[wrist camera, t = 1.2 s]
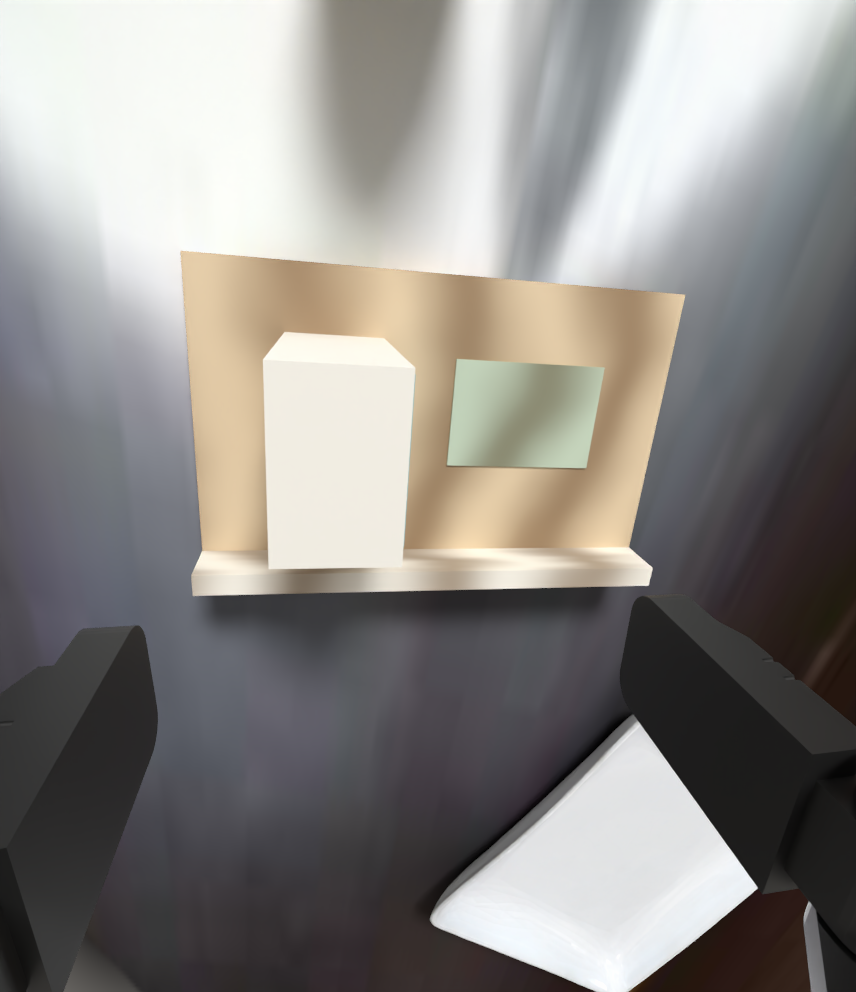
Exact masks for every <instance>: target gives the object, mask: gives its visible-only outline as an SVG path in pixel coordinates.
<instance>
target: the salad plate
mask: <svg viewBox="0 0 856 992" xmlns="http://www.w3.org/2000/svg"><path fill="white" fill-rule="evenodd" d="M756 889H758V887H757V886H756V885H755V883H754V882H753V880H752V879H751V878H750V876H749V875H748V873H747V872H746V871H745V869H744V868H743V866H742V865H741V864H740V862H739V861H738V859H737V858H736V857H735V855H734V854H733V852H732V851H731V850H730V848H729V847H728V846H727V844H726V843H725V841H724V840H723V839H722V837H721V836H720V834H719V833H718V832H717V830H716V829H715V827H714V826H713V825H712V823H711V822H710V820H709V819H708V818H707V816H706V815H705V814H704V812H703V811H702V809H701V808H700V807H699V805H698V804H697V802H696V801H695V800H694V798H693V797H692V795H691V794H690V793H689V791H688V790H687V788H686V787H685V786H684V784H683V783H682V782H681V780H680V779H679V777H678V776H677V775H676V773H675V772H674V770H673V769H672V768H671V766H670V765H669V763H668V762H667V761H666V759H665V758H664V756H663V755H662V754H661V752H660V751H659V749H658V748H657V747H656V745H655V744H654V743H653V741H652V740H651V738H650V737H649V736H648V734H647V733H646V731H645V730H644V729H643V727H642V726H641V724H640V723H639V722H638V720H637V719H636V717H635V716H634V715H633V714H632V715H631V716H630V717H628V718H627V719H626V720H625V721H624V722H623V723H622V724H621V725H620V726H619V727H617V728H616V729H615V730H614V731H613V732H612V733H611V734H610V735H609V737H608V738H607V739H606V740H605V741H604V742H603V743H602V744H601V745H600V746H599V747H598V748H597V749H596V750H595V751H594V752H593V753H592V754H590V755H589V756H588V757H587V758H586V759H585V760H584V761H583V762H582V763H581V764H580V765H579V766H578V767H577V768H576V769H575V770H574V771H573V772H572V773H571V774H569V775H568V776H567V777H566V778H565V779H564V780H563V781H562V782H561V783H560V784H559V785H558V786H557V787H556V788H555V789H554V790H553V791H552V792H550V793H549V794H548V795H547V796H546V797H545V798H544V799H543V800H542V801H541V802H540V803H539V804H538V805H537V806H535V807H534V808H533V809H532V810H531V811H530V812H529V813H528V814H527V815H526V816H525V817H524V818H522V819H521V820H520V821H519V822H518V823H517V824H516V825H515V826H514V827H513V828H511V829H510V830H509V831H508V832H507V833H506V834H505V835H504V836H503V837H501V838H500V839H499V840H498V841H497V842H496V843H495V844H494V845H493V846H491V847H490V848H489V849H488V850H487V851H486V852H484V853H483V854H482V855H481V856H480V857H479V858H477V859H476V860H475V861H474V862H473V863H472V864H470V865H469V866H468V867H467V868H466V869H465V870H464V871H463V872H462V873H461V874H460V875H459V876H458V877H457V878H456V879H455V880H454V881H453V882H452V883H451V884H450V885H449V886H448V888H447V889H446V890H445V891H444V893H443V894H442V896H441V897H440V898H439V900H438V902H437V903H436V905H435V907H434V909H433V911H432V913H431V917H430V921H431V923H432V924H433V925H434V926H435V927H437V928H439V929H442V930H444V931H447V932H450V933H452V934H455V935H457V936H459V937H461V938H464V939H467V940H469V941H472V942H475V943H477V944H480V945H482V946H485V947H487V948H490V949H493V950H495V951H497V952H500V953H502V954H505V955H508V956H510V957H513V958H515V959H518V960H520V961H523V962H525V963H528V964H531V965H534V966H536V967H539V968H541V969H544V970H546V971H548V972H551V973H553V974H556V975H558V976H561V977H563V978H566V979H568V980H570V981H573V982H575V983H577V984H579V985H582V986H584V987H586V988H589V989H591V990H594V991H596V992H628V991H630V990H631V989H632V988H634V987H635V986H636V985H638V984H639V983H640V982H642V981H643V980H644V979H646V978H647V977H648V976H650V975H651V974H652V973H653V972H655V971H656V970H657V969H659V968H660V967H661V966H663V965H664V964H665V963H666V962H668V961H669V960H670V959H672V958H673V957H674V956H676V955H677V954H678V953H680V952H681V951H682V950H683V949H685V948H686V947H687V946H688V945H690V944H691V943H692V942H694V941H695V940H696V939H697V938H699V937H700V936H701V935H702V934H703V933H705V932H706V931H707V930H708V929H710V928H711V927H712V926H713V925H715V924H716V923H717V922H718V921H719V920H720V919H722V918H723V917H724V916H725V915H726V914H728V913H729V912H730V911H731V910H732V909H734V908H735V907H736V906H737V905H738V904H740V903H741V902H742V901H743V900H744V899H746V898H747V897H748V896H749V895H750V894H752V893H753V892H754V891H755V890H756Z"/></svg>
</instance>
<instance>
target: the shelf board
mask: <svg viewBox="0 0 856 992" xmlns="http://www.w3.org/2000/svg"><path fill="white" fill-rule="evenodd" d="M181 265H182V279H183V292H184V306H185V320H186V333H187V347H188V361H189V374H190V388H191V401H192V415H193V429H194V442H195V456H196V470H197V483H198V497H199V511H200V524H201V538H202V553H201V555H200V557H199V560H198V562H197V564H196V566H195V568H194V571H193V573H192V575H191V579H192V591H193V596H211V595H255V594H299V593H343V592H387V591H431V590H474V589H518V588H562V587H606V586H648V585H649V581H650V577H651V573H652V569H653V568H652V567H651V566H650V565H648V564H647V563H646V562H645V561H644V560H643V559H642V558H640V557H639V556H638V555H637V554H636V553H635V552H634V551H632V550H631V549H630V548H629V544H630V540H631V535H632V531H633V526H634V522H635V517H636V513H637V508H638V504H639V499H640V495H641V490H642V486H643V482H644V477H645V473H646V468H647V464H648V459H649V455H650V450H651V446H652V441H653V437H654V432H655V428H656V424H657V419H658V415H659V410H660V406H661V401H662V397H663V392H664V388H665V383H666V379H667V374H668V370H669V366H670V361H671V357H672V352H673V348H674V343H675V339H676V334H677V330H678V325H679V321H680V316H681V312H682V307H683V303H684V299H685V295H681V294H670V293H658V292H647V291H635V290H624V289H612V288H601V287H589V286H578V285H566V284H555V283H543V282H532V281H521V280H509V279H498V278H486V277H475V276H463V275H452V274H440V273H429V272H417V271H406V270H394V269H383V268H371V267H360V266H349V265H337V264H326V263H314V262H303V261H291V260H280V259H268V258H257V257H245V256H234V255H222V254H211V253H199V252H188V251H181ZM284 332H294V333H310V334H326V335H341V336H357V337H373V338H384V339H385V340H387V341H388V342H389V343H390V344H391V345H392V346H393V347H394V348H395V349H396V350H397V351H398V352H399V353H400V354H401V355H402V356H403V357H404V358H405V359H407V360H408V361H409V362H410V363H411V364H412V365H413V366H414V367H415V374H416V377H415V392H414V407H413V422H412V437H411V451H410V466H409V481H408V496H407V511H406V526H405V540H404V548H403V562H402V567H383V568H315V569H269V565H268V529H267V492H266V456H265V419H264V382H263V359H264V358H265V356H266V355H267V354H268V353H269V351H270V350H271V349H272V347H273V346H274V345H275V344H276V342H277V341H278V340H279V338H280V337H281V336H282V335H283V333H284Z"/></svg>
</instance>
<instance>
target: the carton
mask: <svg viewBox="0 0 856 992" xmlns="http://www.w3.org/2000/svg"><path fill="white" fill-rule="evenodd" d="M415 377H416V374H415V367H414V366H413V365H412V364H411V363H410V362H409V361H408V360H407V359H405V358H404V357H403V356H402V355H401V354H400V353H399V352H398V351H397V350H396V349H395V348H394V347H393V346H392V345H391V344H390V343H389V342H388V341H387V340H385V339H384V338H373V337H357V336H341V335H326V334H310V333H294V332H284V333H283V335H282V336H281V337H280V338H279V340H278V341H277V342H276V344H275V345H274V346H273V347H272V349H271V350H270V351H269V353H268V354H267V355H266V356H265V358H264V359H263V382H264V419H265V456H266V492H267V529H268V565H269V569H315V568H383V567H402V562H403V548H404V540H405V526H406V511H407V496H408V481H409V466H410V451H411V437H412V422H413V407H414V392H415Z"/></svg>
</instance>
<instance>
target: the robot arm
mask: <svg viewBox="0 0 856 992" xmlns="http://www.w3.org/2000/svg"><path fill="white" fill-rule="evenodd" d="M620 684H621V690H622V693H623V697H624V699H625V702H626V704H627V706H628V707H629V709H630V711H631V712H632V713H633V715H634V716H635V717H636V719H637V720H638V722H639V723H640V724H641V726H642V727H643V729H644V730H645V731H646V733H647V734H648V736H649V737H650V738H651V740H652V741H653V743H654V744H655V745H656V747H657V748H658V749H659V751H660V752H661V754H662V755H663V756H664V758H665V759H666V761H667V762H668V763H669V765H670V766H671V768H672V769H673V770H674V772H675V773H676V775H677V776H678V777H679V779H680V780H681V782H682V783H683V784H684V786H685V787H686V788H687V790H688V791H689V793H690V794H691V795H692V797H693V798H694V800H695V801H696V802H697V804H698V805H699V807H700V808H701V809H702V811H703V812H704V814H705V815H706V816H707V818H708V819H709V820H710V822H711V823H712V825H713V826H714V827H715V829H716V830H717V832H718V833H719V834H720V836H721V837H722V839H723V840H724V841H725V843H726V844H727V846H728V847H729V848H730V850H731V851H732V852H733V854H734V855H735V857H736V858H737V859H738V861H739V862H740V864H741V865H742V866H743V868H744V869H745V871H746V872H747V873H748V875H749V876H750V878H751V879H752V880H753V882H754V883H755V885H756V886H757V887H758V889H759V890H760V891H761V893H762V894H767V893H773V892H779V891H785V890H791V889H797V888H799V889H800V890H801V892H802V893H803V894H804V895H805V897H806V898H807V899H808V900H809V903H808V906H807V908H806V910H805V914H804V932H805V941H806V950H807V958H808V967H809V976H810V985H811V992H856V726H854V725H853V724H852V723H851V722H850V721H848V720H847V719H846V718H845V717H843V716H842V715H841V714H840V713H839V712H837V711H836V710H835V709H834V708H833V707H831V706H830V705H829V704H828V703H827V702H825V701H824V700H823V699H822V698H821V697H819V696H818V695H817V694H816V693H815V692H813V691H812V690H811V689H810V688H809V687H807V686H806V685H805V684H804V683H803V682H801V681H800V680H795V679H794V675H793V674H792V673H790V672H789V671H788V670H787V669H786V668H784V667H783V666H782V665H781V664H780V663H778V662H775V663H774V661H773V658H772V657H771V656H770V655H769V654H768V653H766V652H765V651H764V650H763V649H762V648H760V647H759V646H758V645H757V644H756V643H754V642H753V641H752V640H751V639H749V638H748V637H747V636H745V635H743V634H741V633H739V632H737V631H735V630H733V629H731V628H729V627H727V626H726V625H724V624H722V623H720V622H718V621H716V620H715V619H714V618H713V617H712V616H711V615H709V614H708V613H707V612H706V611H705V610H704V609H702V608H701V607H700V606H699V605H698V604H696V603H695V602H694V601H693V600H692V599H691V598H689V597H688V596H686V595H684V594H671V595H655V596H641V597H639V598H637V599H636V601H635V602H634V604H633V606H632V610H631V616H630V621H629V626H628V631H627V637H626V642H625V647H624V653H623V658H622V663H621V669H620ZM157 724H158V713H157V704H156V698H155V692H154V686H153V680H152V674H151V668H150V662H149V656H148V650H147V644H146V638H145V634H144V632H143V630H142V628H141V627H140V626H120V627H104V628H87V629H82V630H81V631H79V632H78V633H77V635H76V636H75V637H74V639H73V640H72V641H71V643H70V644H69V646H68V647H67V648H66V650H65V651H64V653H63V654H62V655H61V657H60V658H59V659H58V661H57V662H56V664H55V665H54V666H43V667H37V668H36V669H34V670H33V671H32V672H30V673H29V674H27V675H26V676H25V677H23V678H22V679H20V680H19V681H18V682H16V683H15V684H14V685H12V686H11V687H9V688H8V689H7V690H5V691H4V692H2V693H1V694H0V992H63V991H64V988H65V985H66V983H67V980H68V978H69V975H70V972H71V970H72V967H73V964H74V962H75V959H76V956H77V954H78V951H79V948H80V946H81V943H82V940H83V938H84V935H85V932H86V930H87V927H88V924H89V922H90V919H91V916H92V914H93V911H94V908H95V906H96V903H97V900H98V898H99V895H100V892H101V890H102V887H103V884H104V882H105V879H106V876H107V874H108V871H109V868H110V866H111V863H112V860H113V858H114V855H115V852H116V849H117V847H118V844H119V841H120V839H121V836H122V833H123V831H124V828H125V825H126V823H127V820H128V817H129V815H130V812H131V809H132V807H133V804H134V801H135V799H136V796H137V793H138V791H139V788H140V785H141V783H142V780H143V777H144V775H145V772H146V769H147V767H148V764H149V761H150V759H151V756H152V753H153V750H154V746H155V741H156V735H157Z"/></svg>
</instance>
